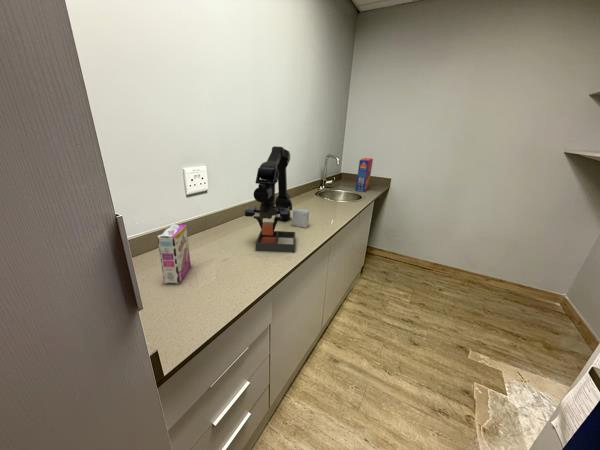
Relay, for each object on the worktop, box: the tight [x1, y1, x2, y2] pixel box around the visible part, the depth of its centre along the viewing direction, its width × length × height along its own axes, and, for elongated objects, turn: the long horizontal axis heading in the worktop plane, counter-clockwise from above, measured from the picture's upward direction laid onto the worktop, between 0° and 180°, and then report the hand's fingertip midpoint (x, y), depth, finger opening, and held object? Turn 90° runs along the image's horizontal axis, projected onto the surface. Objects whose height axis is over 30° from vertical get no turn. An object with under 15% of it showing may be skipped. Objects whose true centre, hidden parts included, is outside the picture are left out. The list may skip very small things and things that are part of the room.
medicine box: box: [292, 208, 310, 229], centre depth 130 cm, size 8×4×9 cm, turn 71°
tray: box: [255, 229, 296, 253], centre depth 107 cm, size 16×14×4 cm
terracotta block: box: [262, 221, 274, 235], centre depth 105 cm, size 4×4×4 cm
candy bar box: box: [156, 223, 192, 285], centre depth 79 cm, size 11×5×16 cm, turn 5°
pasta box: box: [355, 157, 374, 193], centre depth 231 cm, size 28×8×28 cm, turn 157°
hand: (267, 231), depth 106 cm, fingers closed on terracotta block, 4 cm apart
